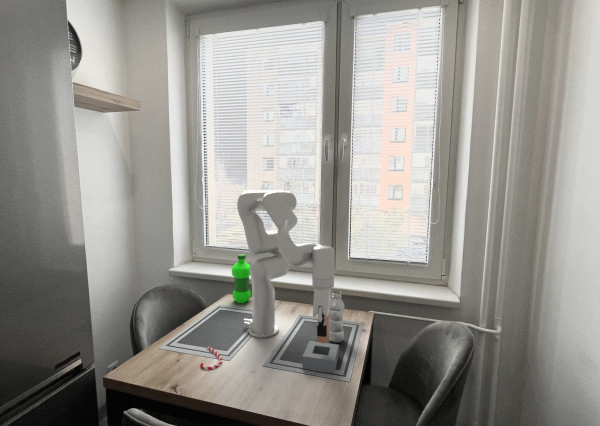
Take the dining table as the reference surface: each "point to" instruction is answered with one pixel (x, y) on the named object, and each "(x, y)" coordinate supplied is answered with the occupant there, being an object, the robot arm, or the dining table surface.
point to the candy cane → (214, 365)
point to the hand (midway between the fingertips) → (323, 332)
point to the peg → (326, 339)
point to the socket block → (320, 357)
